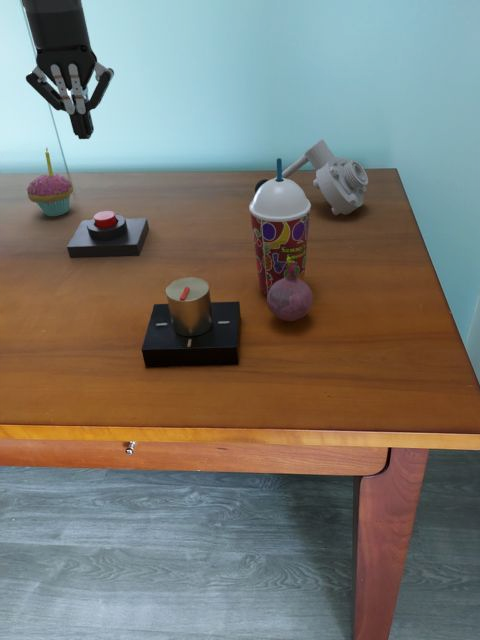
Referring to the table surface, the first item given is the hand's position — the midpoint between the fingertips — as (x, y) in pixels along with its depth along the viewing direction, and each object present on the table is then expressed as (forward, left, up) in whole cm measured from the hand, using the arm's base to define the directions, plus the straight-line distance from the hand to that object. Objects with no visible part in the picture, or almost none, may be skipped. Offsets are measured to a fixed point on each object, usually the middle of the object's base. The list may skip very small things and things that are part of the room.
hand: (85, 137), depth 82 cm
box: (0, 0, -18) cm, 18 cm away
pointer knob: (+18, -29, -15) cm, 37 cm away
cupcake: (-14, +14, -19) cm, 27 cm away
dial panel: (+18, -29, -18) cm, 39 cm away
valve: (+36, +12, -19) cm, 42 cm away
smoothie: (+30, -17, -19) cm, 39 cm away
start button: (0, 0, -15) cm, 15 cm away
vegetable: (+31, -25, -19) cm, 44 cm away
